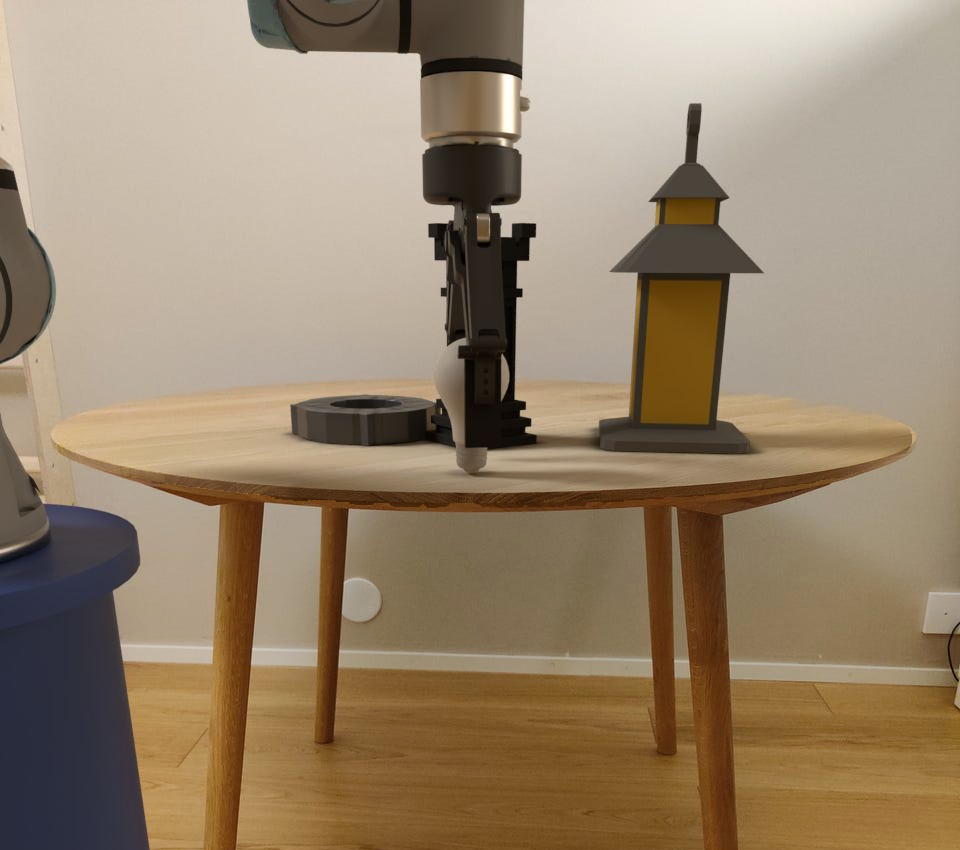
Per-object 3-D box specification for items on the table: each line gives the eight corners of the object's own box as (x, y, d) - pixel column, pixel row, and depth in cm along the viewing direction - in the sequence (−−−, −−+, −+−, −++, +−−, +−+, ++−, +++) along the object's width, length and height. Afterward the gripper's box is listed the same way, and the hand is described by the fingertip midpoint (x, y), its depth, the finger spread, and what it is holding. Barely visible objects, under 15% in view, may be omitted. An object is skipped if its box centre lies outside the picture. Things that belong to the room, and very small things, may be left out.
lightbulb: (507, 466, 83) (509, 335, 79) (507, 481, 78) (510, 340, 74) (437, 466, 83) (436, 334, 79) (432, 480, 78) (431, 339, 74)
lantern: (729, 430, 103) (761, 114, 92) (751, 453, 90) (790, 90, 79) (598, 427, 104) (614, 116, 93) (600, 450, 91) (619, 91, 80)
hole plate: (368, 449, 91) (367, 417, 89) (270, 434, 99) (268, 404, 98) (461, 431, 101) (461, 402, 100) (366, 418, 109) (365, 391, 108)
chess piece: (490, 432, 101) (492, 225, 93) (536, 443, 94) (542, 223, 87) (425, 438, 96) (422, 223, 89) (469, 451, 90) (469, 220, 83)
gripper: (553, 124, 60) (544, 459, 68) (498, 163, 83) (496, 410, 91) (435, 122, 60) (439, 462, 67) (412, 162, 83) (418, 411, 90)
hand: (472, 433), depth 79 cm, fingers open, 13 cm apart
